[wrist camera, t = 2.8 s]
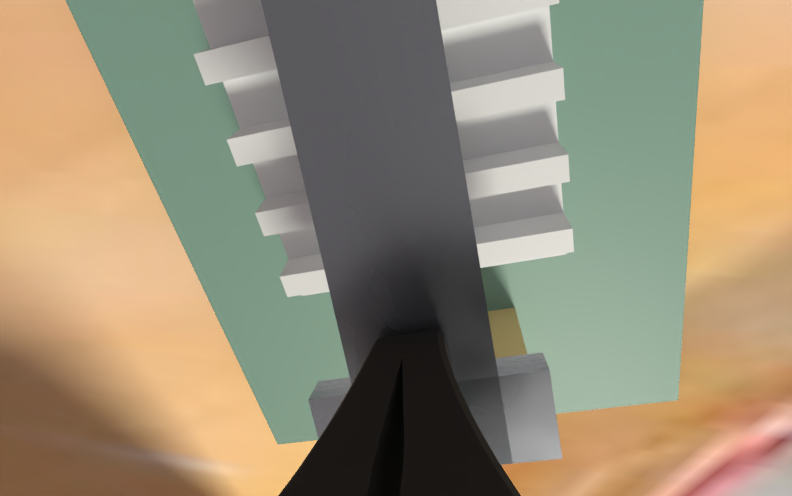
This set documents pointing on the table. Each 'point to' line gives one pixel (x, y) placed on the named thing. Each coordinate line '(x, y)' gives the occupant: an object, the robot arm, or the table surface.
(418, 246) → the grey flat bar
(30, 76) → the table surface
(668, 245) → the board
